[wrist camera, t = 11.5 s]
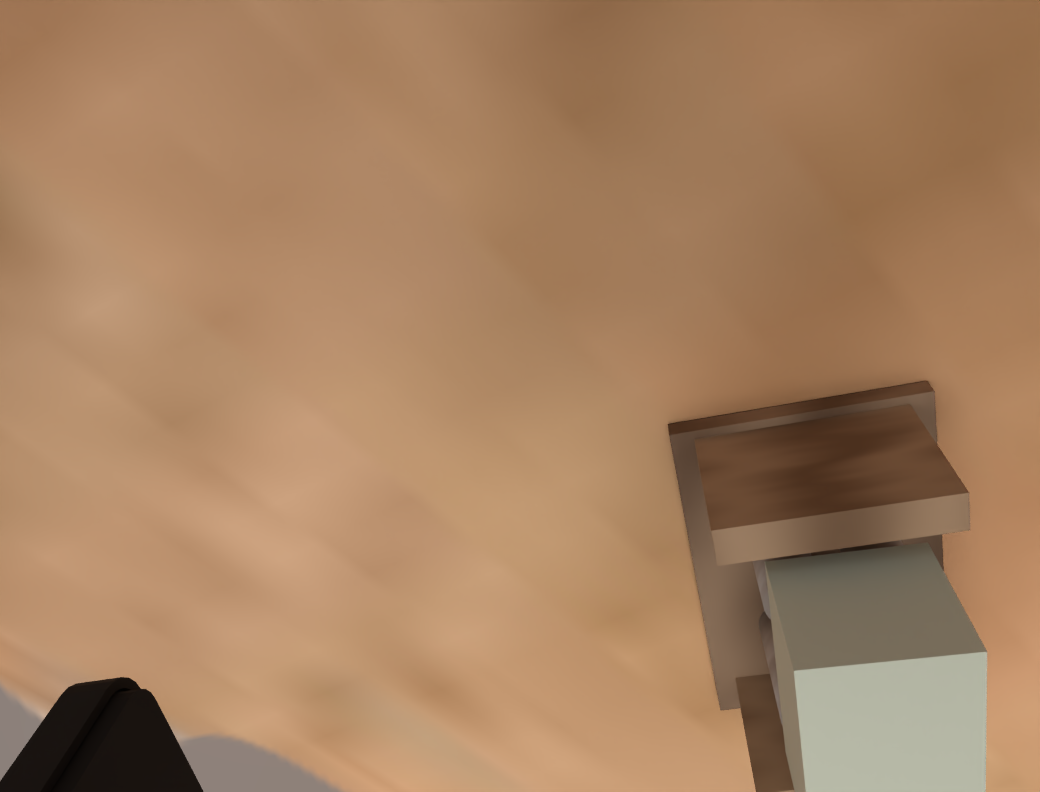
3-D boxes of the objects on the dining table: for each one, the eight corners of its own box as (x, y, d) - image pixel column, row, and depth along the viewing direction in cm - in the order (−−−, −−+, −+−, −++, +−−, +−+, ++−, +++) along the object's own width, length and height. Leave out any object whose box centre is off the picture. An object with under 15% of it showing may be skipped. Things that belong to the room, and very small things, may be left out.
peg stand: (927, 380, 40) (999, 478, 33) (942, 669, 47) (1005, 803, 39) (667, 424, 42) (682, 525, 35) (718, 696, 48) (739, 828, 41)
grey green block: (927, 542, 35) (987, 651, 30) (932, 739, 39) (984, 866, 34) (764, 561, 36) (793, 670, 31) (785, 752, 40) (814, 877, 35)
